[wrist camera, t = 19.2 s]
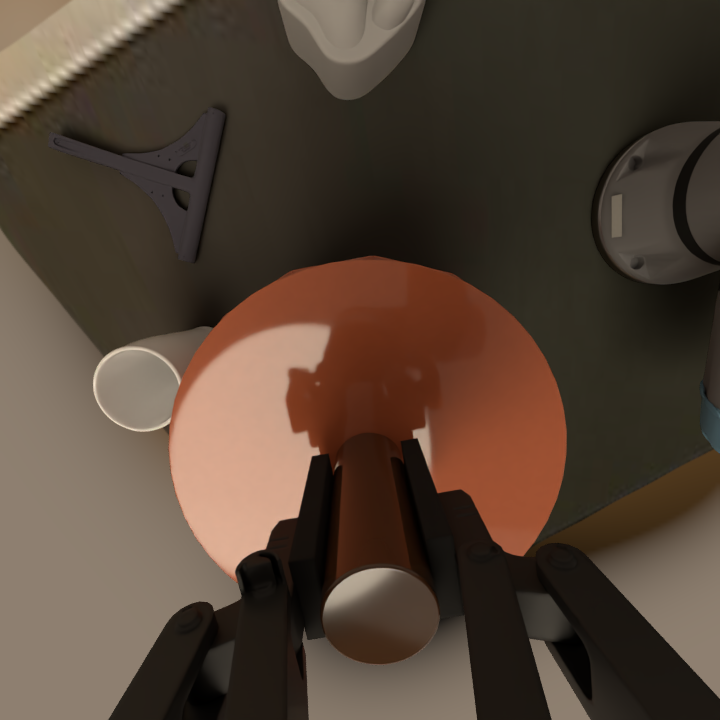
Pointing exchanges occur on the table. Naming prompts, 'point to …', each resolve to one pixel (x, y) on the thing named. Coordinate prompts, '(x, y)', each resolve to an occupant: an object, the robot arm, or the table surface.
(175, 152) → the bracket
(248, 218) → the table surface
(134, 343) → the drinking glass
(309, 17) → the lumpy-topped squat cylinder
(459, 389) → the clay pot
